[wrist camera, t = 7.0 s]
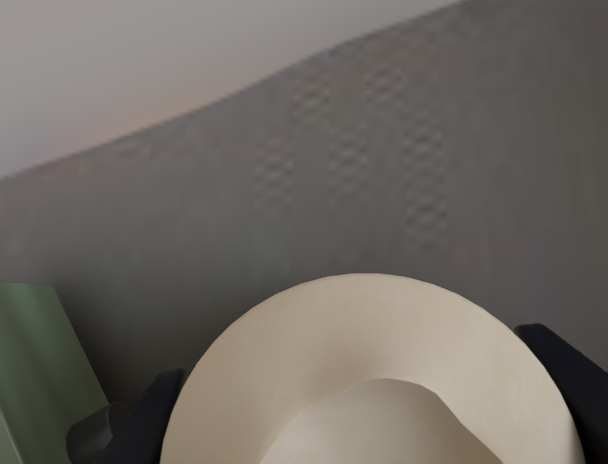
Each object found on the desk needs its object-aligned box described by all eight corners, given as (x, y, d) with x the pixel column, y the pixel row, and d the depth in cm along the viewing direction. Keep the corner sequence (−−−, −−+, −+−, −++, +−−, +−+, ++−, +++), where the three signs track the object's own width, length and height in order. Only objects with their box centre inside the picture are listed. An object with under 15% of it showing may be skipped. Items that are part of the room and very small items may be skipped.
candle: (238, 464, 15) (45, 772, 5) (276, 276, 16) (177, 220, 6) (428, 508, 14) (636, 946, 4) (458, 313, 15) (695, 319, 5)
